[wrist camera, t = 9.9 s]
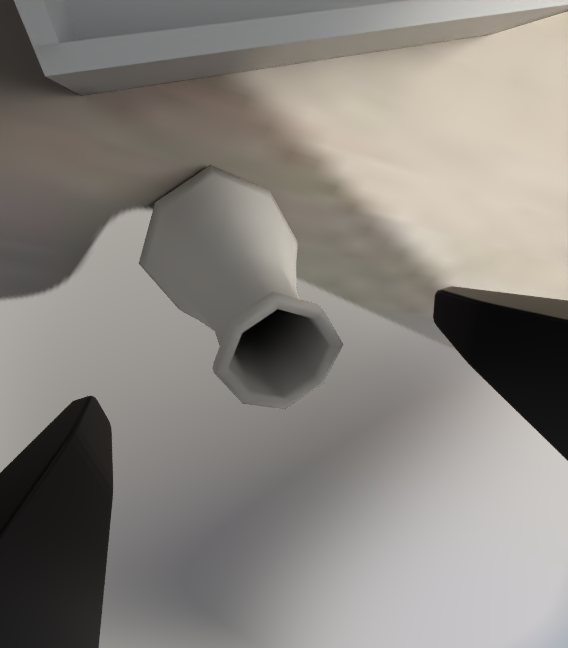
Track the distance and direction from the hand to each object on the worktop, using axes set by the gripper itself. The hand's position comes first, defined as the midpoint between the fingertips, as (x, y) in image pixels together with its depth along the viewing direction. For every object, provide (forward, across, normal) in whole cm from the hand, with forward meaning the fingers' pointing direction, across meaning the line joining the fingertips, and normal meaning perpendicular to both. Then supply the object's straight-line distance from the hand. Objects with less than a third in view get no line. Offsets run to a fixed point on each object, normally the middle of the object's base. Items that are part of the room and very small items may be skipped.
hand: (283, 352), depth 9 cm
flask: (+10, 0, 0) cm, 10 cm away
